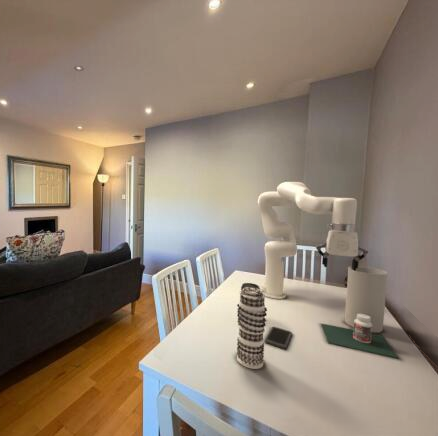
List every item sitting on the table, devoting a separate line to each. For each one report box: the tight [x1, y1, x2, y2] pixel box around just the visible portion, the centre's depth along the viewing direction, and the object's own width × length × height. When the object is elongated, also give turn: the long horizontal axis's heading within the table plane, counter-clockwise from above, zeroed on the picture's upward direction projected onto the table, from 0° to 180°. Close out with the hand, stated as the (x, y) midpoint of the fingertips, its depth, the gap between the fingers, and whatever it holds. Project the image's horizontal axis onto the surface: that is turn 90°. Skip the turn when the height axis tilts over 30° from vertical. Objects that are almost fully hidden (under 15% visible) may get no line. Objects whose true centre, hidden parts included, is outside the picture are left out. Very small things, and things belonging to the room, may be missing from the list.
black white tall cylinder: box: [236, 287, 268, 370], centre depth 83 cm, size 9×9×25 cm
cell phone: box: [264, 326, 293, 350], centre depth 98 cm, size 7×14×1 cm, turn 141°
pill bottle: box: [352, 314, 373, 343], centre depth 95 cm, size 5×5×10 cm
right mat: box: [320, 323, 400, 360], centre depth 97 cm, size 20×16×1 cm
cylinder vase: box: [344, 265, 388, 334], centre depth 106 cm, size 12×12×25 cm
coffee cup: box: [240, 282, 260, 291], centre depth 115 cm, size 8×8×15 cm
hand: (339, 268), depth 103 cm, fingers open, 9 cm apart
